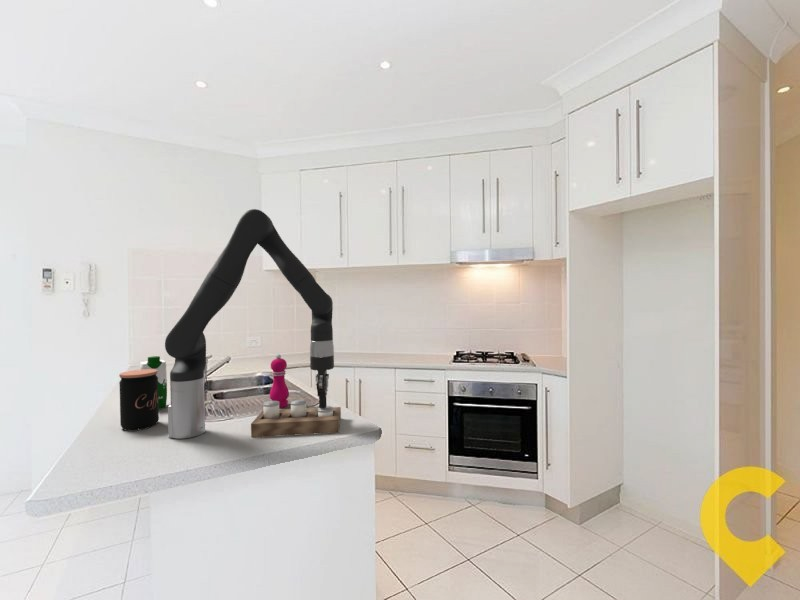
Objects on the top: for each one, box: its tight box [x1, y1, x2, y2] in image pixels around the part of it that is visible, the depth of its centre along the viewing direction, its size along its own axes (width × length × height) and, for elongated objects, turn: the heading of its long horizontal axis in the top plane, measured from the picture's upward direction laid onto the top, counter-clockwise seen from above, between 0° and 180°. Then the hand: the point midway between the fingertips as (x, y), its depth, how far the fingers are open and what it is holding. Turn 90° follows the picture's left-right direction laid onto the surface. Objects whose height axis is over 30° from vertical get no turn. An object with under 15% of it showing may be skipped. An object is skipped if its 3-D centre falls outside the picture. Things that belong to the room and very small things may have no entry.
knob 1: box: [262, 400, 280, 419], centre depth 126 cm, size 5×5×5 cm
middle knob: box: [290, 399, 307, 418], centre depth 127 cm, size 5×5×5 cm
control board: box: [250, 406, 342, 438], centre depth 127 cm, size 26×14×4 cm, turn 96°
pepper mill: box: [269, 353, 290, 409], centre depth 153 cm, size 7×7×20 cm
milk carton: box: [139, 355, 168, 410], centre depth 154 cm, size 9×9×20 cm
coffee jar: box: [118, 369, 160, 431], centre depth 131 cm, size 11×11×18 cm
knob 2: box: [317, 405, 334, 417], centre depth 128 cm, size 5×5×5 cm
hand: (322, 407), depth 128 cm, fingers closed
